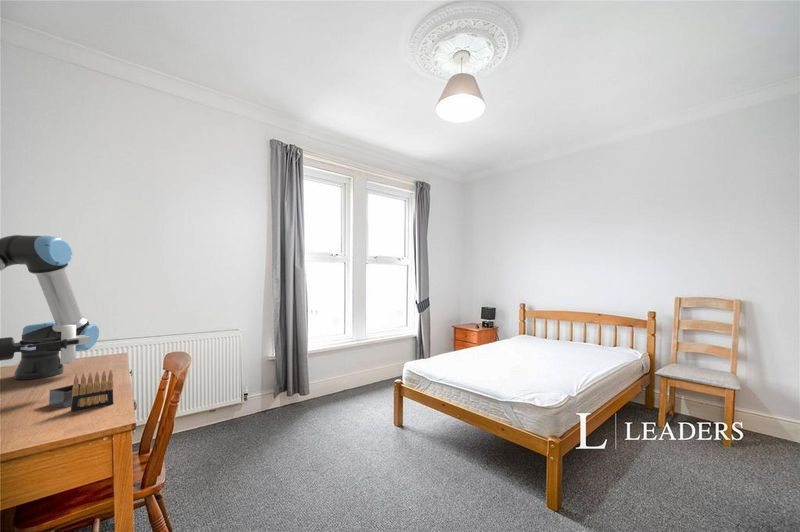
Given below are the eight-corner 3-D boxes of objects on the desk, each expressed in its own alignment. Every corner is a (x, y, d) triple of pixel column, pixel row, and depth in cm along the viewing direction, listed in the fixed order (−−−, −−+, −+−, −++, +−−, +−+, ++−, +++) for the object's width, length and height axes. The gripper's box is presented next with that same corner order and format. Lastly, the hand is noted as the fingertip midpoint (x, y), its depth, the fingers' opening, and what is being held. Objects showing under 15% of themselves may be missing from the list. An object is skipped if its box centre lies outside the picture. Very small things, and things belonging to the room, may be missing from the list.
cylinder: (57, 363, 127) (59, 326, 128) (70, 360, 131) (72, 324, 131) (64, 364, 126) (65, 326, 126) (77, 361, 130) (78, 325, 130)
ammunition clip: (70, 412, 112) (72, 375, 112) (70, 410, 113) (72, 374, 113) (113, 404, 119) (114, 369, 120) (112, 402, 120) (114, 368, 121)
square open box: (49, 404, 117) (49, 390, 118) (77, 397, 125) (78, 383, 125) (63, 408, 115) (64, 393, 115) (91, 400, 122) (92, 386, 123)
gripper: (-10, 357, 118) (80, 345, 138) (-1, 365, 109) (94, 351, 128) (-9, 335, 118) (80, 327, 138) (0, 342, 109) (95, 331, 129)
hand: (87, 339), depth 133 cm, fingers closed on cylinder, 4 cm apart
